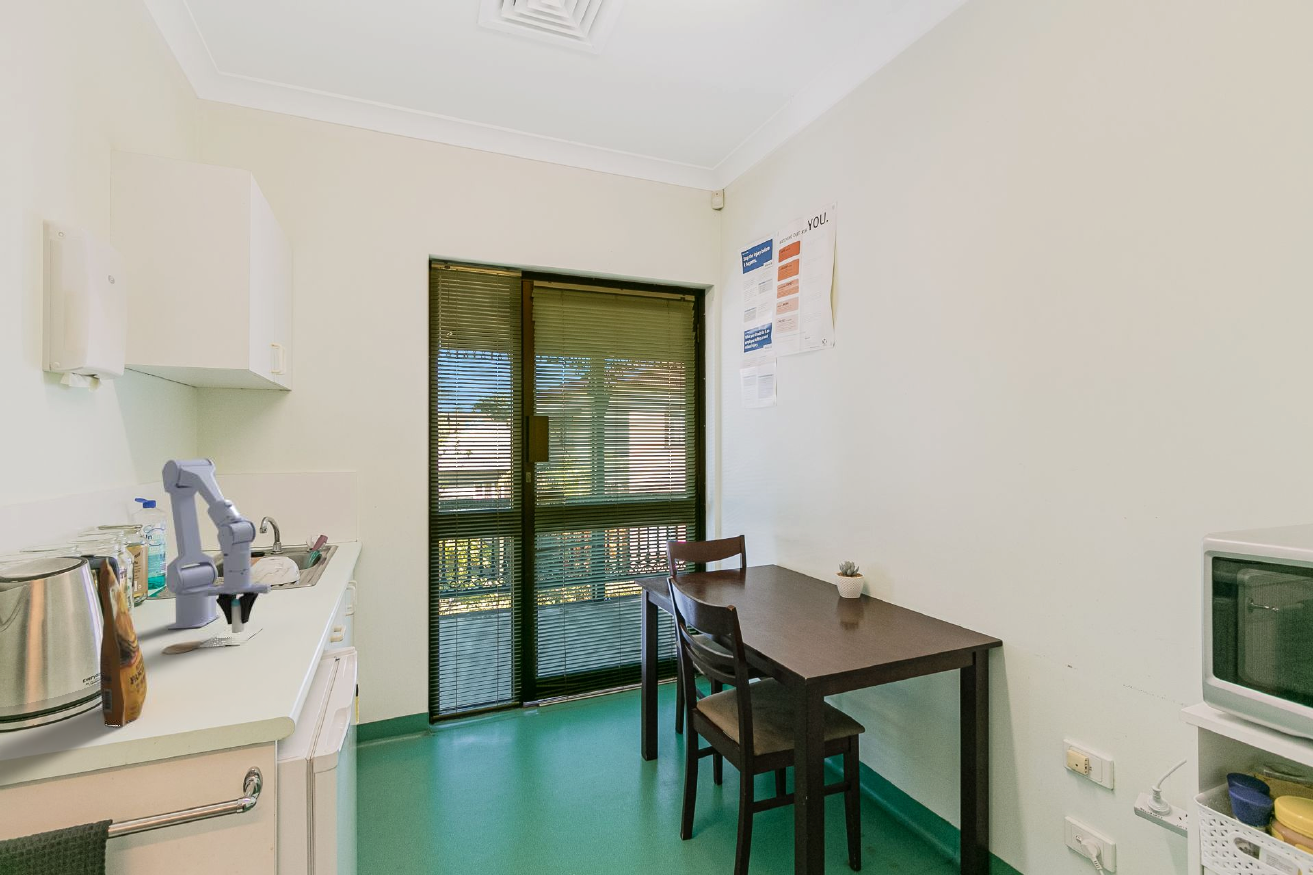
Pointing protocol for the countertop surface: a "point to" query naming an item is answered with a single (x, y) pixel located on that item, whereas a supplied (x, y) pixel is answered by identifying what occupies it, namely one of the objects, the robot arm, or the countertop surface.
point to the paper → (220, 643)
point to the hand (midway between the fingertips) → (238, 622)
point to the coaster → (181, 647)
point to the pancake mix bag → (119, 656)
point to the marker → (236, 616)
